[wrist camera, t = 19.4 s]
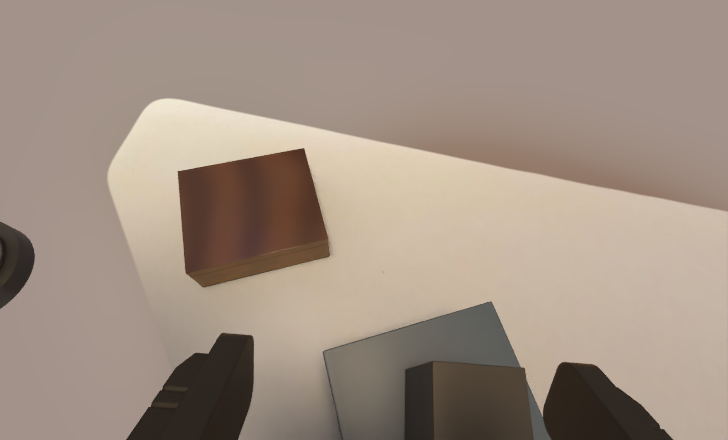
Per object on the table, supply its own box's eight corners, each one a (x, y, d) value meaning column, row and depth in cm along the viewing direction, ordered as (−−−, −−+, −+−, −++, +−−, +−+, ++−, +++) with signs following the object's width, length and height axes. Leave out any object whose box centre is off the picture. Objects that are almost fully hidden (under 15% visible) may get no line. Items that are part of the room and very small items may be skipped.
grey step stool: (358, 503, 31) (368, 556, 21) (326, 362, 36) (322, 351, 26) (499, 449, 33) (568, 473, 23) (451, 324, 38) (491, 301, 28)
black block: (477, 455, 24) (539, 483, 16) (404, 450, 23) (434, 476, 16) (472, 374, 26) (525, 367, 19) (405, 369, 26) (432, 360, 18)
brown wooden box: (203, 287, 38) (185, 273, 34) (194, 194, 43) (177, 171, 38) (329, 256, 41) (328, 239, 36) (307, 172, 45) (304, 147, 41)
